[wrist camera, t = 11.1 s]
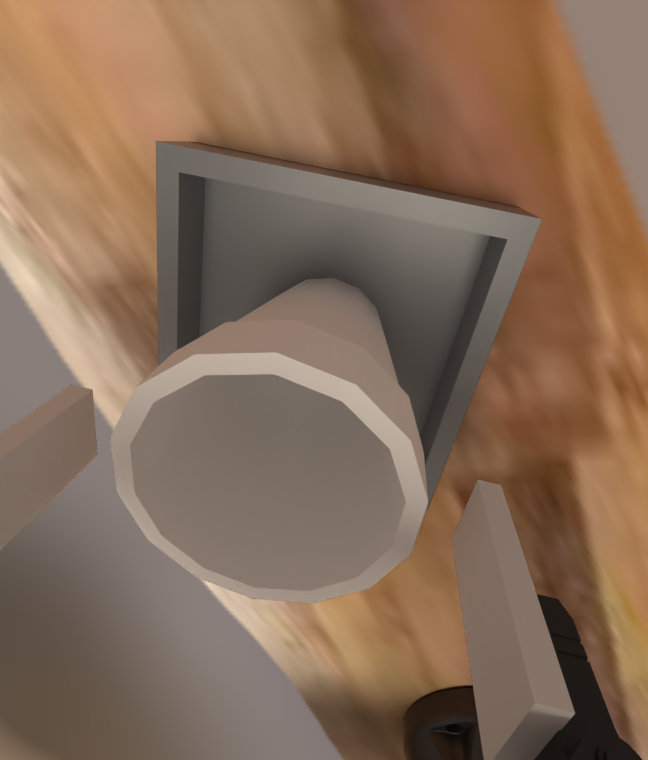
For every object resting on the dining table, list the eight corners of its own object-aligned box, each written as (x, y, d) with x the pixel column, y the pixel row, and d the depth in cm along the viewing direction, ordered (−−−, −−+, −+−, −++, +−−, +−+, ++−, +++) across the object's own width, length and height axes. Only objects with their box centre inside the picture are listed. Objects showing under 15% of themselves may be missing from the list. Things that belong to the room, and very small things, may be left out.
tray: (424, 464, 29) (427, 508, 25) (187, 410, 29) (159, 446, 26) (517, 207, 21) (541, 219, 18) (194, 142, 22) (155, 141, 18)
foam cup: (224, 370, 26) (94, 539, 15) (269, 218, 22) (132, 294, 11) (371, 428, 27) (352, 635, 15) (443, 291, 22) (493, 439, 11)
